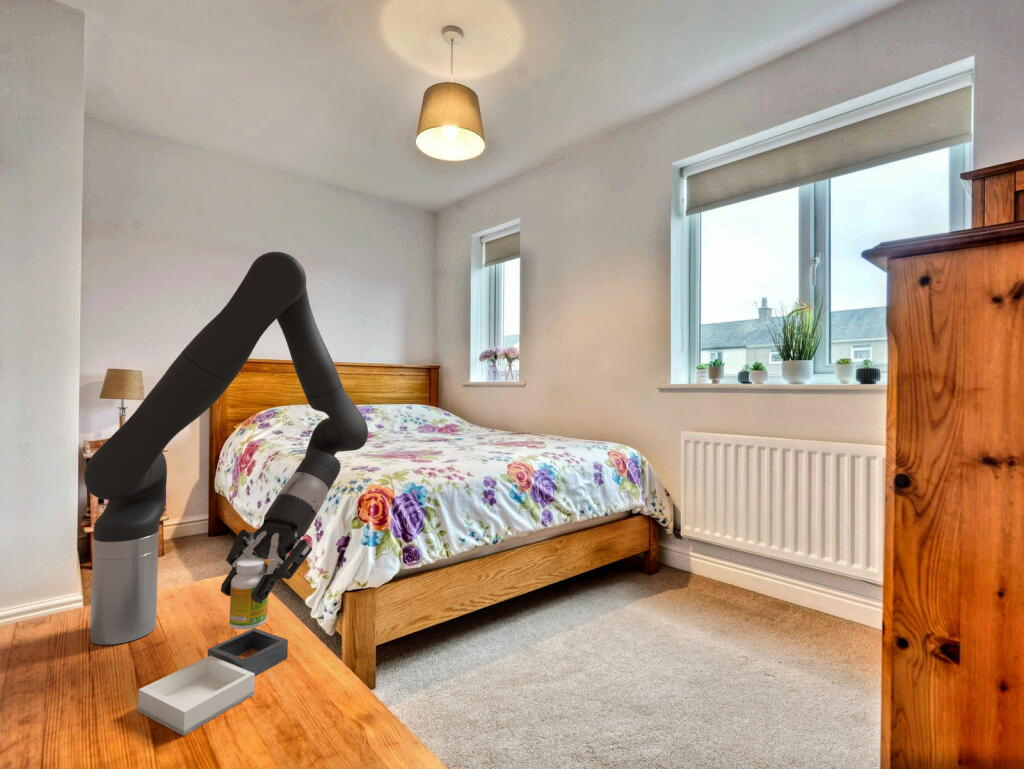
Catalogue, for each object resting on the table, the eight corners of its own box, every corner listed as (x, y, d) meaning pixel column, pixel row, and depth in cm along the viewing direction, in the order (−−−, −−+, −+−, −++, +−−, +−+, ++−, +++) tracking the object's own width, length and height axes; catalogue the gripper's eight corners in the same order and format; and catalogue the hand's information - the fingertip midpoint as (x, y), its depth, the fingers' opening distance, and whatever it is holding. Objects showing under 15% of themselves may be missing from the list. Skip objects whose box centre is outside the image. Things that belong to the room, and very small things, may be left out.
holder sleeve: (207, 668, 81) (207, 649, 81) (253, 645, 88) (254, 627, 88) (242, 683, 77) (242, 663, 77) (287, 658, 84) (287, 639, 84)
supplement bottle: (251, 632, 80) (254, 569, 79) (221, 627, 81) (223, 565, 81) (274, 617, 85) (276, 557, 85) (245, 612, 86) (247, 554, 86)
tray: (138, 711, 70) (138, 689, 70) (209, 675, 79) (210, 655, 79) (183, 736, 65) (184, 712, 65) (254, 694, 74) (254, 673, 74)
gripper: (254, 487, 92) (190, 578, 81) (322, 497, 87) (265, 594, 76) (275, 511, 97) (218, 599, 86) (340, 520, 93) (289, 615, 81)
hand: (240, 596), depth 81 cm, fingers closed on supplement bottle, 5 cm apart
